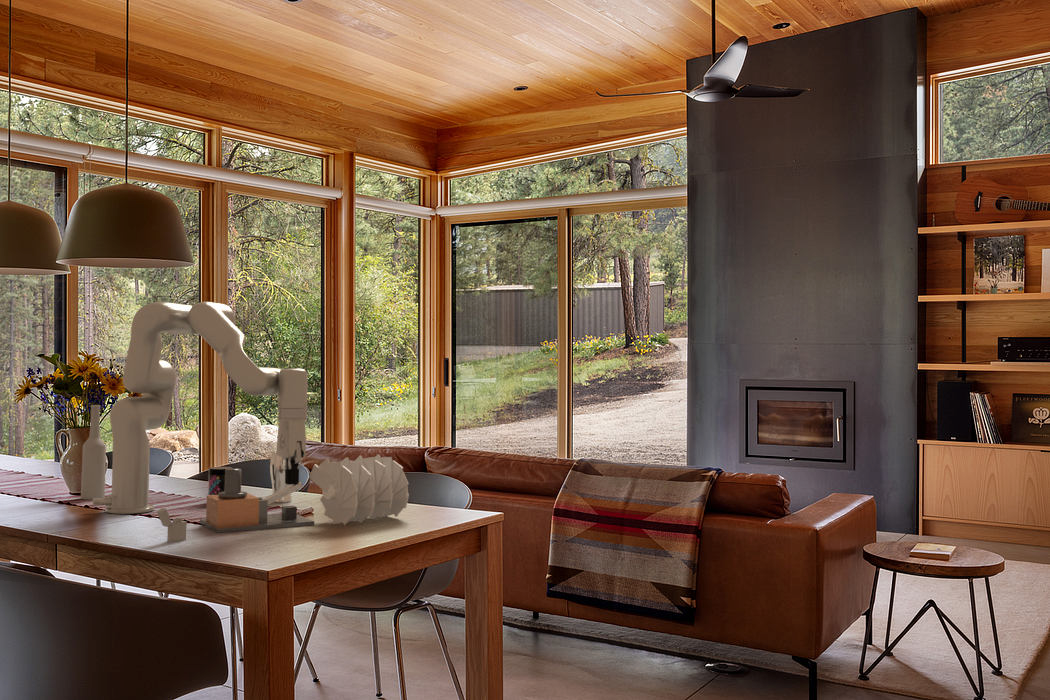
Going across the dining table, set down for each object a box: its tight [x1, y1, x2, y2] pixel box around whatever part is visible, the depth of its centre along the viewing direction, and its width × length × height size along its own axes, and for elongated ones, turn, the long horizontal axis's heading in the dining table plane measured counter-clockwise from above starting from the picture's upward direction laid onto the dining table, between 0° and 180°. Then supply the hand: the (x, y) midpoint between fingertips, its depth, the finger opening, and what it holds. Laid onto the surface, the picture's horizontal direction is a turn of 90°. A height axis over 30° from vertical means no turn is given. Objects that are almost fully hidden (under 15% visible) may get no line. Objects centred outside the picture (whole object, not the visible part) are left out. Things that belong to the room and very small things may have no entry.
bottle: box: [80, 404, 107, 501], centre depth 280 cm, size 7×7×28 cm
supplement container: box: [207, 466, 233, 495], centre depth 276 cm, size 7×7×10 cm
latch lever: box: [262, 481, 304, 506], centre depth 245 cm, size 12×2×1 cm, turn 124°
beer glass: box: [269, 450, 292, 504], centre depth 282 cm, size 7×7×15 cm
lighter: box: [156, 507, 188, 543], centre depth 216 cm, size 7×2×8 cm, turn 148°
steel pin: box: [218, 468, 248, 499], centre depth 238 cm, size 7×7×13 cm
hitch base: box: [199, 492, 315, 534], centre depth 241 cm, size 25×16×8 cm, turn 123°
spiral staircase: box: [309, 453, 410, 526], centre depth 250 cm, size 18×18×25 cm
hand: (291, 483), depth 246 cm, fingers closed
